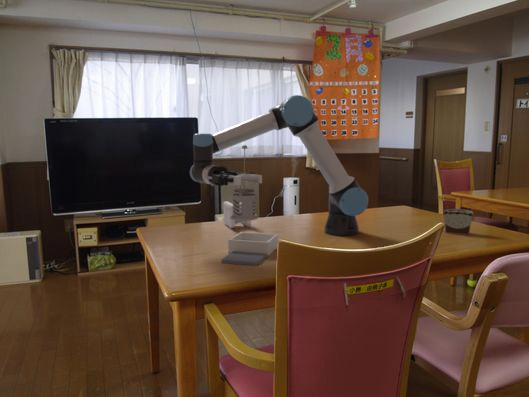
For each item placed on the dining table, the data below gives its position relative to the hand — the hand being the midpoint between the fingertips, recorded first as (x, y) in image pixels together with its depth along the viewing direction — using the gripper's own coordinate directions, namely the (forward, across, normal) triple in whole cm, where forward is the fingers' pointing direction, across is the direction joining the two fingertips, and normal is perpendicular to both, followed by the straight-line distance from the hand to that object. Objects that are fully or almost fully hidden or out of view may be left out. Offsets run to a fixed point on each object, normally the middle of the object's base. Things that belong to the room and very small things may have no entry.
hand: (250, 180), depth 142 cm
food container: (+20, -97, -28) cm, 103 cm away
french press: (-5, 0, -14) cm, 14 cm away
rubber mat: (-4, 0, -28) cm, 28 cm away
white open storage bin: (-12, -10, -28) cm, 32 cm away
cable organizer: (-53, -28, -28) cm, 66 cm away
